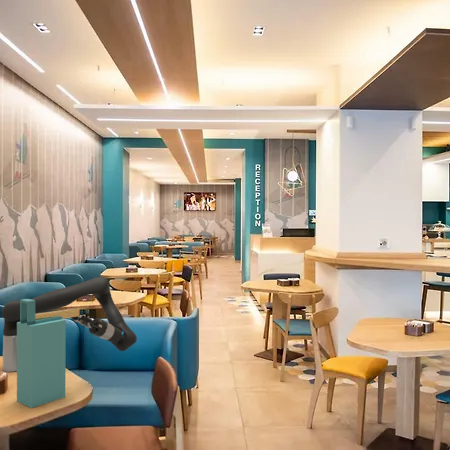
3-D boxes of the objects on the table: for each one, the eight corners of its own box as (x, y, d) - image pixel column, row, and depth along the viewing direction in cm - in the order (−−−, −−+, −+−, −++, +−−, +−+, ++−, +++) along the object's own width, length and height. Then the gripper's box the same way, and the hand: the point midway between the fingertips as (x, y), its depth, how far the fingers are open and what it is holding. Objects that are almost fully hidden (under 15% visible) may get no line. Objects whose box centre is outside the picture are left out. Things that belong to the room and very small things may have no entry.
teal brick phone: (16, 401, 191) (16, 299, 191) (50, 390, 203) (50, 294, 202) (31, 408, 184) (31, 302, 184) (65, 396, 196) (65, 297, 196)
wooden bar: (30, 321, 192) (30, 314, 192) (76, 315, 206) (76, 308, 206) (33, 323, 190) (33, 315, 190) (79, 316, 204) (79, 309, 204)
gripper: (95, 319, 223) (69, 306, 212) (115, 323, 214) (89, 310, 203) (88, 334, 220) (62, 321, 209) (108, 339, 211) (81, 326, 200)
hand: (75, 316), depth 206 cm, fingers open, 8 cm apart
